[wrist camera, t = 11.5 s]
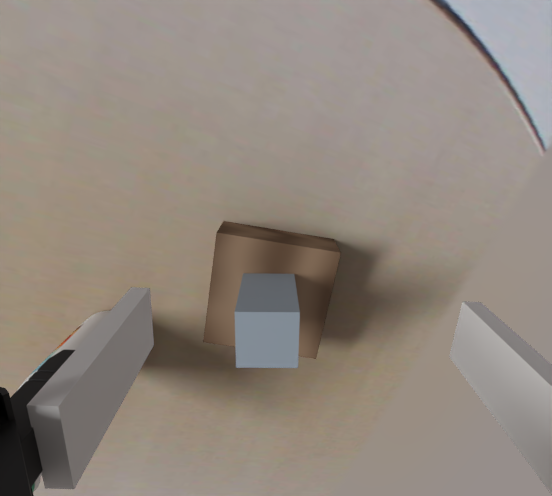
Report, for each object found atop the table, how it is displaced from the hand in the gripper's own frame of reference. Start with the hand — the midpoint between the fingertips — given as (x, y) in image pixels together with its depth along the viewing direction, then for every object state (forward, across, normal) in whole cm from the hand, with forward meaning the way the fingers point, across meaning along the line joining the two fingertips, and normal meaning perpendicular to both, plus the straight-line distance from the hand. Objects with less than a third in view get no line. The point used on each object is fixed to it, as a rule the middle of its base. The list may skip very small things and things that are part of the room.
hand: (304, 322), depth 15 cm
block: (+19, -2, -8) cm, 21 cm away
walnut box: (+24, -2, -9) cm, 26 cm away
